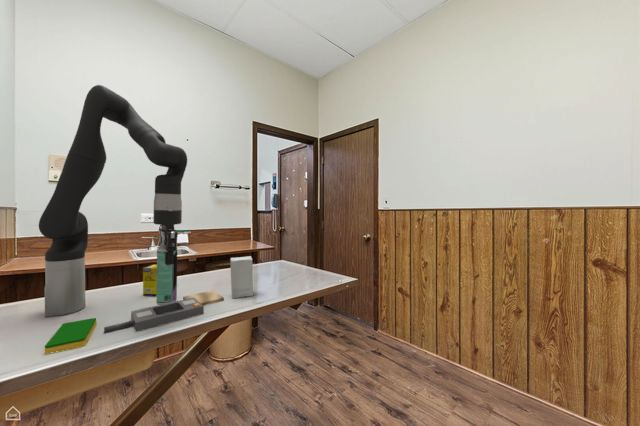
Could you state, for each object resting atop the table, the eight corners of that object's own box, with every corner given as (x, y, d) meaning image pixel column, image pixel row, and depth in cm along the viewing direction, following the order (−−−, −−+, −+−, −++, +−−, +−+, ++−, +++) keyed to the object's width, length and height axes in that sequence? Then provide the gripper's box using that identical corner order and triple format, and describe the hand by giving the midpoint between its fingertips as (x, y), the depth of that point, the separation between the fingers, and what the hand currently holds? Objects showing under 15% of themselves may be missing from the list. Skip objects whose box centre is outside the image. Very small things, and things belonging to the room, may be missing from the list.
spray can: (180, 300, 81) (181, 238, 81) (165, 306, 76) (166, 240, 76) (168, 297, 83) (168, 237, 83) (152, 303, 78) (152, 239, 77)
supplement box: (157, 296, 97) (157, 268, 97) (142, 295, 98) (142, 267, 97) (167, 291, 103) (167, 264, 103) (153, 290, 103) (152, 264, 103)
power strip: (105, 339, 66) (105, 328, 66) (103, 326, 73) (103, 316, 73) (203, 313, 82) (203, 304, 82) (194, 304, 90) (194, 296, 90)
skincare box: (251, 291, 104) (252, 255, 104) (253, 296, 98) (253, 258, 98) (230, 293, 101) (230, 256, 101) (230, 299, 96) (230, 260, 95)
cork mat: (192, 308, 87) (192, 305, 86) (183, 299, 95) (183, 296, 95) (223, 300, 94) (223, 297, 94) (213, 292, 102) (213, 290, 102)
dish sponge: (96, 325, 75) (96, 317, 74) (85, 347, 63) (84, 338, 63) (63, 331, 71) (63, 323, 71) (44, 356, 59) (43, 346, 59)
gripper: (149, 208, 82) (149, 260, 82) (158, 209, 71) (157, 269, 71) (175, 208, 87) (175, 257, 87) (187, 209, 76) (186, 265, 76)
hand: (167, 262), depth 79 cm, fingers closed on spray can, 5 cm apart
